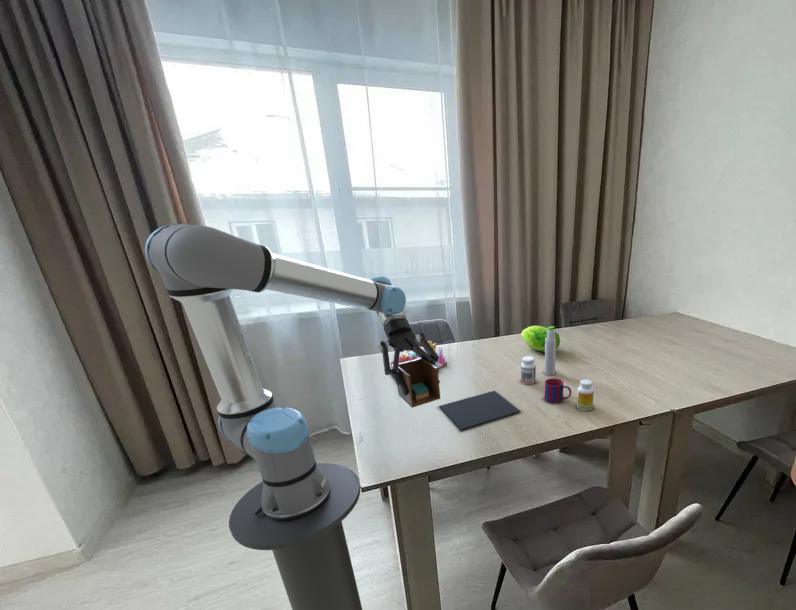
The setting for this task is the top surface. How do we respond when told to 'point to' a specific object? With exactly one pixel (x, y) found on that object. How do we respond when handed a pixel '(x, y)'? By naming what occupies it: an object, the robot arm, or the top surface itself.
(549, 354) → the bottle
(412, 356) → the candy landscape model
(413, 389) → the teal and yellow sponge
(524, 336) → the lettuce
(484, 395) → the mat
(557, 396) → the mug
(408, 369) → the open wooden box
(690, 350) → the top surface
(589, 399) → the supplement bottle
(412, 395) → the block
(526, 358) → the pill bottle
